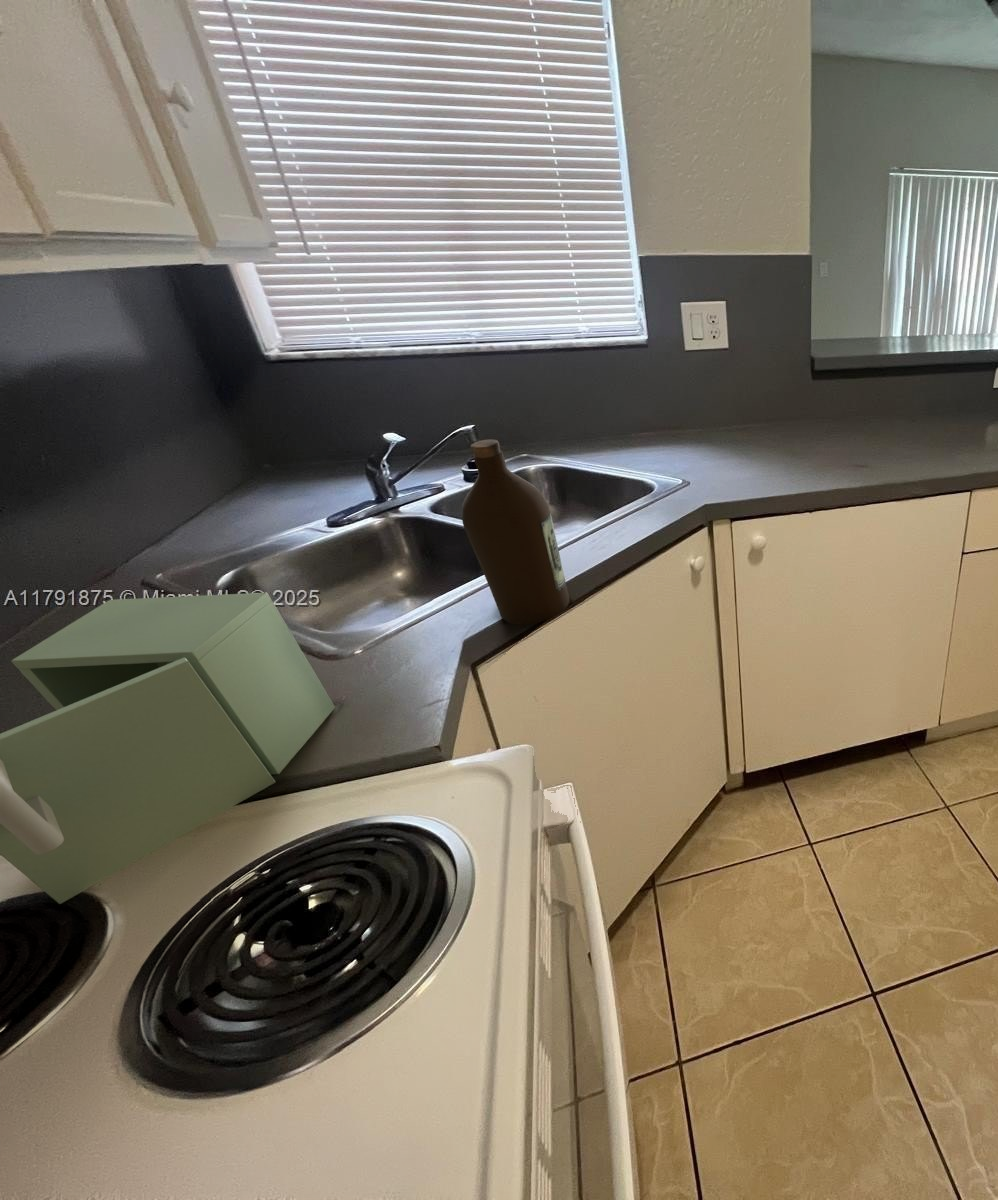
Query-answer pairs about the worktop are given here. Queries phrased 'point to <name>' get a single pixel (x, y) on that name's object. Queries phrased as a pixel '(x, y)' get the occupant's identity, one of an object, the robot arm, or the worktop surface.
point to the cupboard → (193, 662)
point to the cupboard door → (119, 778)
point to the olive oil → (513, 540)
